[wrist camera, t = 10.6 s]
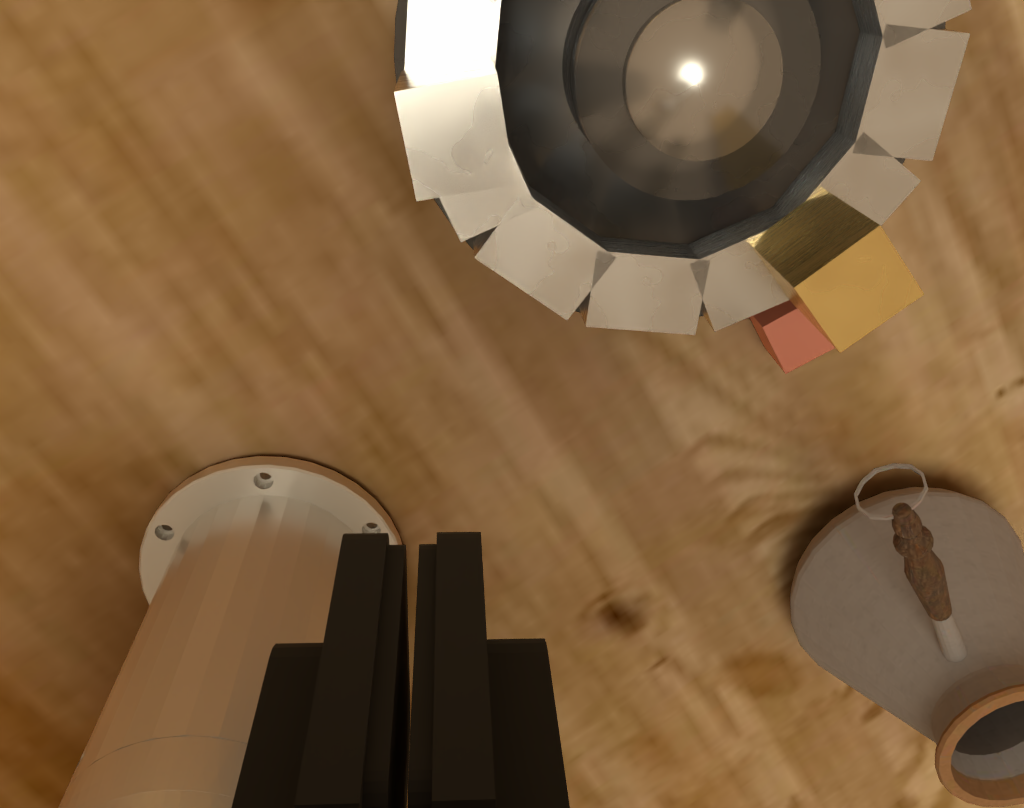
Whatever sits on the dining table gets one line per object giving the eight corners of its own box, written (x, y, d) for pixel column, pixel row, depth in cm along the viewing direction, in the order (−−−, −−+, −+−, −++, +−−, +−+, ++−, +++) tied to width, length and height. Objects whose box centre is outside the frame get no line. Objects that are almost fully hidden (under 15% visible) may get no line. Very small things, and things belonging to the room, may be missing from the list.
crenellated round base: (1012, -217, 30) (1159, -259, 24) (856, 330, 38) (936, 404, 32) (422, -301, 28) (415, -371, 22) (392, 293, 37) (380, 365, 30)
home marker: (814, 319, 42) (839, 345, 39) (764, 346, 42) (785, 373, 40) (793, 273, 41) (817, 297, 38) (742, 302, 41) (762, 327, 39)
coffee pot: (1022, 580, 49) (1237, 819, 36) (824, 677, 51) (957, 935, 38) (872, 253, 41) (1082, 405, 27) (642, 385, 43) (731, 586, 29)
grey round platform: (855, 298, 41) (937, 370, 34) (404, 295, 40) (394, 369, 33) (964, -242, 33) (1104, -292, 26) (390, -269, 31) (373, -330, 24)
